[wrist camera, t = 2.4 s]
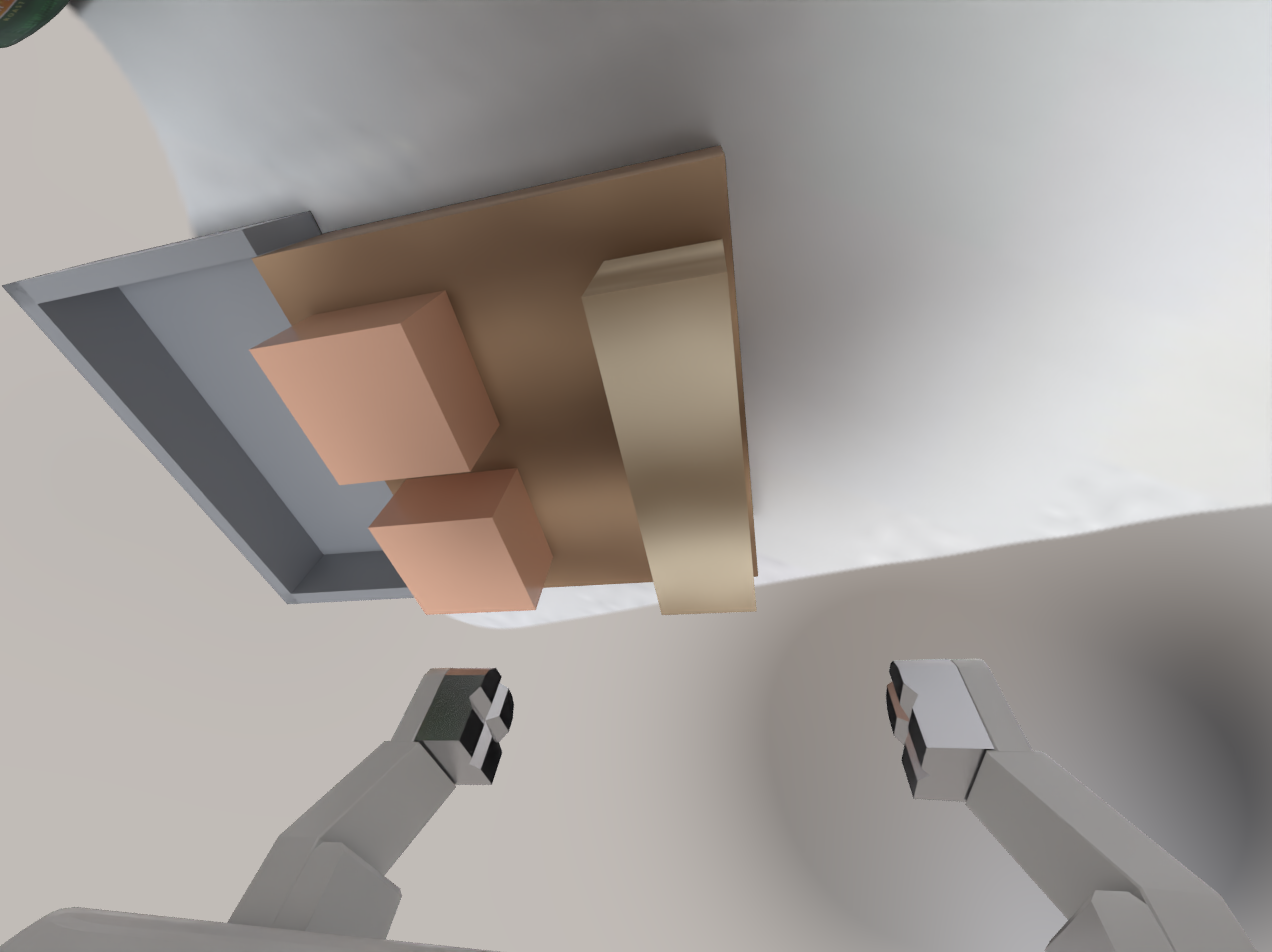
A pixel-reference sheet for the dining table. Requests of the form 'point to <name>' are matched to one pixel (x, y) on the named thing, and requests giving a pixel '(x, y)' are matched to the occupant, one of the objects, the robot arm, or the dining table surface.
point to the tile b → (466, 542)
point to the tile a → (383, 389)
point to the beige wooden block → (678, 420)
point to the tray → (218, 402)
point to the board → (534, 327)
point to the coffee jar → (25, 18)
